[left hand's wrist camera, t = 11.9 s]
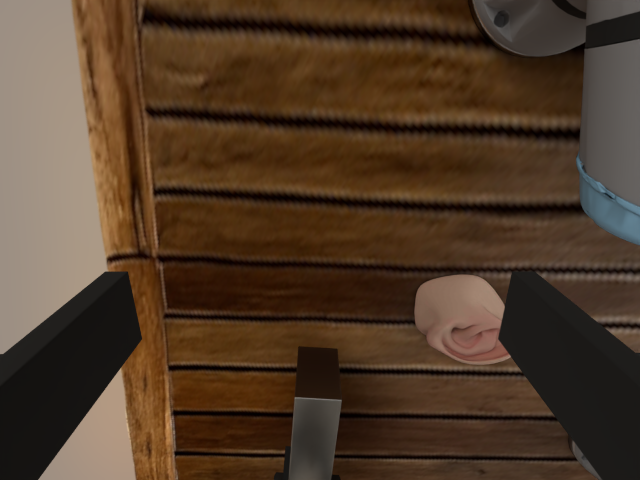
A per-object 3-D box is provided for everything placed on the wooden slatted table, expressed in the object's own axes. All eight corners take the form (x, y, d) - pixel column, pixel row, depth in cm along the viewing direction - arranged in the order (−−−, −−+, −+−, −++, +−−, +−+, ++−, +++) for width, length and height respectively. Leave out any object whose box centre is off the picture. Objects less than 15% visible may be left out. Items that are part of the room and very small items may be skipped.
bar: (298, 346, 46) (294, 397, 38) (337, 348, 46) (341, 400, 38) (289, 468, 54) (284, 531, 46) (322, 470, 54) (323, 533, 46)
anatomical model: (406, 309, 43) (501, 269, 41) (399, 292, 47) (486, 255, 45) (445, 387, 47) (532, 354, 45) (436, 366, 51) (516, 335, 49)
